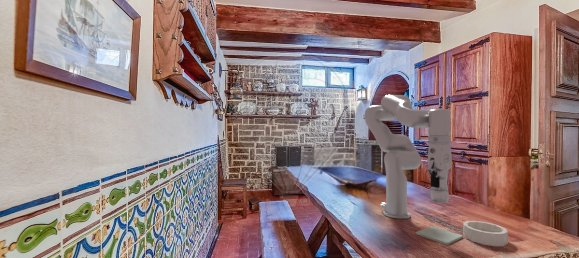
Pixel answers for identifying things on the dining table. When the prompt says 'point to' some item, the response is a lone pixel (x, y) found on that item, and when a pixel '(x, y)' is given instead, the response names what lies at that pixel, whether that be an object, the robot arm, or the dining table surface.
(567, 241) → the dining table surface
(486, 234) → the bowl
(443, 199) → the plastic bottle
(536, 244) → the dining table surface
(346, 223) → the dining table surface
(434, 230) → the mat
